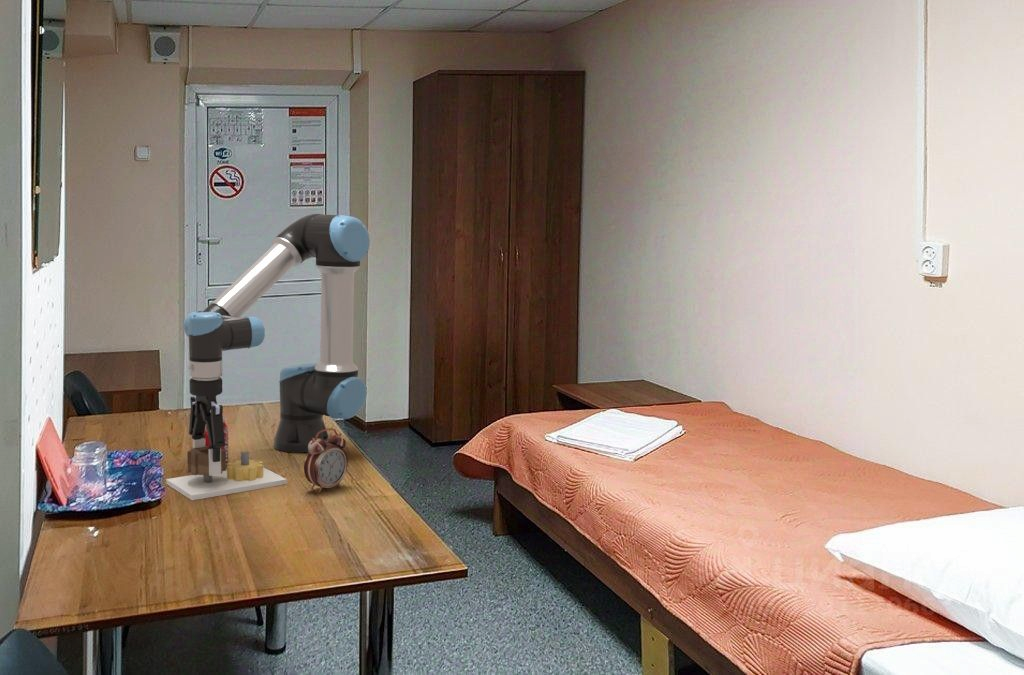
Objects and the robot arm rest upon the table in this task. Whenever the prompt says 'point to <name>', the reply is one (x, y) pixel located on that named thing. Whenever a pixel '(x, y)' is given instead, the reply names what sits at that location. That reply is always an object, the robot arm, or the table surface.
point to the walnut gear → (202, 461)
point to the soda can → (225, 439)
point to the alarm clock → (326, 461)
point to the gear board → (227, 480)
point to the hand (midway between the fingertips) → (207, 469)
